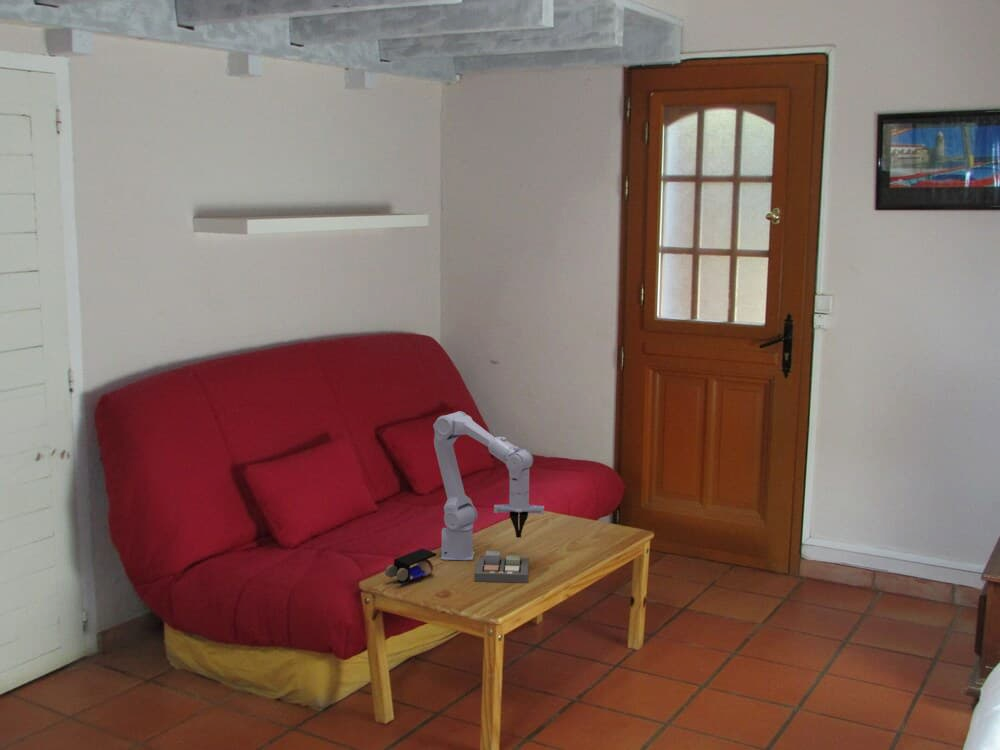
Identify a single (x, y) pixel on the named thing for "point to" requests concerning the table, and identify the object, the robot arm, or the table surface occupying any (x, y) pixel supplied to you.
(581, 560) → the table surface
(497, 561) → the key slate
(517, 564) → the key sage
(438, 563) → the table surface
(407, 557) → the black toy vehicle
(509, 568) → the key cream
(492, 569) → the key terracotta
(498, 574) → the keypad bezel
